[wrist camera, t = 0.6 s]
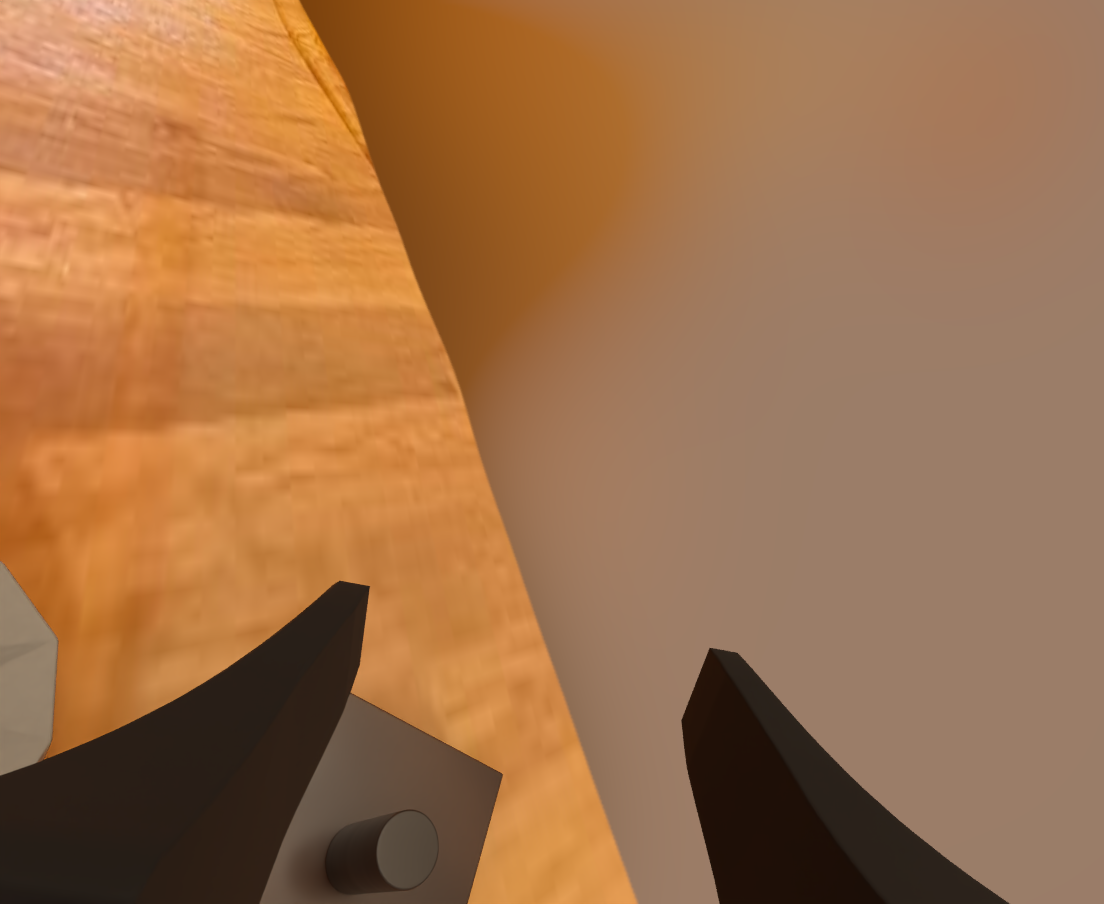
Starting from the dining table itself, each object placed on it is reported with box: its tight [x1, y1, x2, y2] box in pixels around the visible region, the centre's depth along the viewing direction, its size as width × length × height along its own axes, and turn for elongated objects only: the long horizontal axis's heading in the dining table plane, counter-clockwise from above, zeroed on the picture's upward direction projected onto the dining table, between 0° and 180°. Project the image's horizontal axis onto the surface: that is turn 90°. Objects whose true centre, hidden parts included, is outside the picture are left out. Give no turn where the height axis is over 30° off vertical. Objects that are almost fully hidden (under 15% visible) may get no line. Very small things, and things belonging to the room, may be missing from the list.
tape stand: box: [260, 693, 503, 904], centre depth 22 cm, size 10×10×6 cm
